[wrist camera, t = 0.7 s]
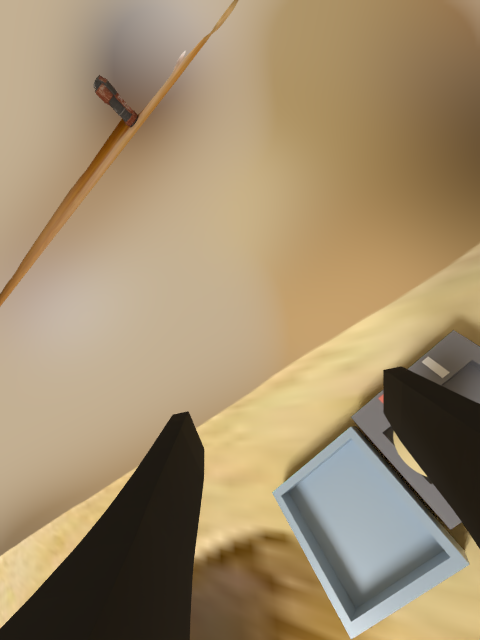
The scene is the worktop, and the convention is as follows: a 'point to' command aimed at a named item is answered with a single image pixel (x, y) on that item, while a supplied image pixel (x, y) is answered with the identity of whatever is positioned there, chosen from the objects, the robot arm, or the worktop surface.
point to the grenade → (114, 100)
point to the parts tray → (365, 532)
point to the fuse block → (448, 371)
